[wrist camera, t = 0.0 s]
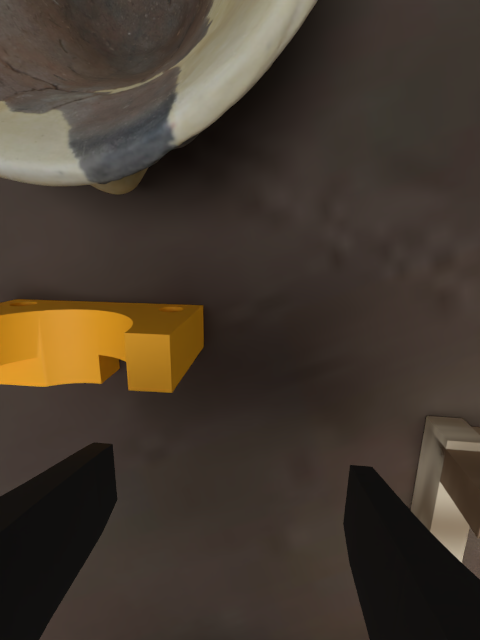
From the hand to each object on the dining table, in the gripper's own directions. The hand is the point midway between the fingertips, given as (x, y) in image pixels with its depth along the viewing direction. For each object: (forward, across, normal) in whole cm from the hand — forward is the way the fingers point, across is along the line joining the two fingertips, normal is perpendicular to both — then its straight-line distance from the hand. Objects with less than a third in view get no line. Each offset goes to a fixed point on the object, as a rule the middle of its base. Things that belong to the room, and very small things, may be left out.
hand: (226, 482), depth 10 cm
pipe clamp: (+11, +9, -1) cm, 14 cm away
